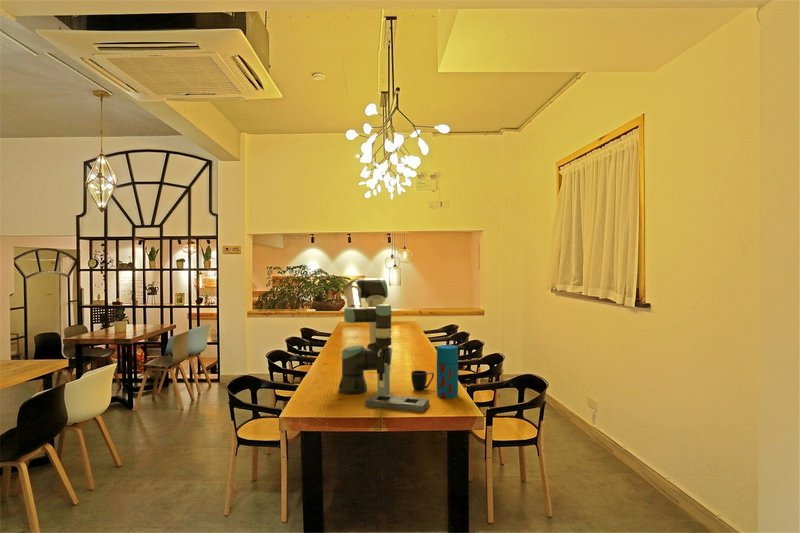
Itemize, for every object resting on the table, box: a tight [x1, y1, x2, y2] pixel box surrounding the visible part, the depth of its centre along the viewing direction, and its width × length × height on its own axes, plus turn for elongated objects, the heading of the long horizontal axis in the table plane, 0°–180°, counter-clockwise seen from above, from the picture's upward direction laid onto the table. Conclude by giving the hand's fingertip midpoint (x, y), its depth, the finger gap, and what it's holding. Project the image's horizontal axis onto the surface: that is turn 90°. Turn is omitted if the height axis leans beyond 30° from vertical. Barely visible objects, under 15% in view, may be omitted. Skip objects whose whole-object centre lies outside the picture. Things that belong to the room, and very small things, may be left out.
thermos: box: [436, 344, 459, 400], centre depth 231 cm, size 11×11×25 cm
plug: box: [376, 363, 391, 396], centre depth 216 cm, size 4×4×15 cm
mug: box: [411, 370, 435, 392], centre depth 242 cm, size 8×12×10 cm
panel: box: [364, 393, 430, 414], centre depth 214 cm, size 28×12×3 cm, turn 72°
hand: (383, 385), depth 216 cm, fingers closed on plug, 4 cm apart
